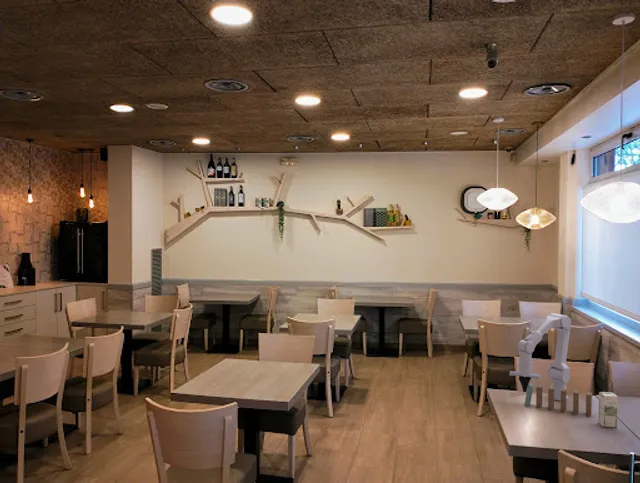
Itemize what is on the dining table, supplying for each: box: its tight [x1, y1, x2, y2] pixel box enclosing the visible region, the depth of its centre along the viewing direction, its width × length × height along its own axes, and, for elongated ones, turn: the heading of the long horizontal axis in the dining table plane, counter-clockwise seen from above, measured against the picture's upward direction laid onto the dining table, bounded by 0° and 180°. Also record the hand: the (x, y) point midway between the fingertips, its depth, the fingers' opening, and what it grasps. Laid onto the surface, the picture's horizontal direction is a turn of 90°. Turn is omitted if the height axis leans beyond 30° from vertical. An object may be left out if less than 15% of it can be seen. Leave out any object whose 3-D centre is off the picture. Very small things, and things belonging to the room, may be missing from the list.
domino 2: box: [535, 384, 543, 409], centre depth 267 cm, size 5×2×10 cm, turn 149°
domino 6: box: [585, 392, 593, 418], centre depth 256 cm, size 5×2×10 cm, turn 149°
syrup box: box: [597, 391, 619, 429], centre depth 242 cm, size 6×6×14 cm
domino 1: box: [523, 383, 535, 407], centre depth 270 cm, size 5×2×10 cm, turn 149°
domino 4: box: [559, 388, 568, 413], centre depth 262 cm, size 5×2×10 cm, turn 149°
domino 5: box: [572, 389, 580, 415], centre depth 259 cm, size 5×2×10 cm, turn 149°
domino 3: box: [547, 386, 555, 411], centre depth 264 cm, size 5×2×10 cm, turn 149°
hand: (524, 391), depth 271 cm, fingers closed
